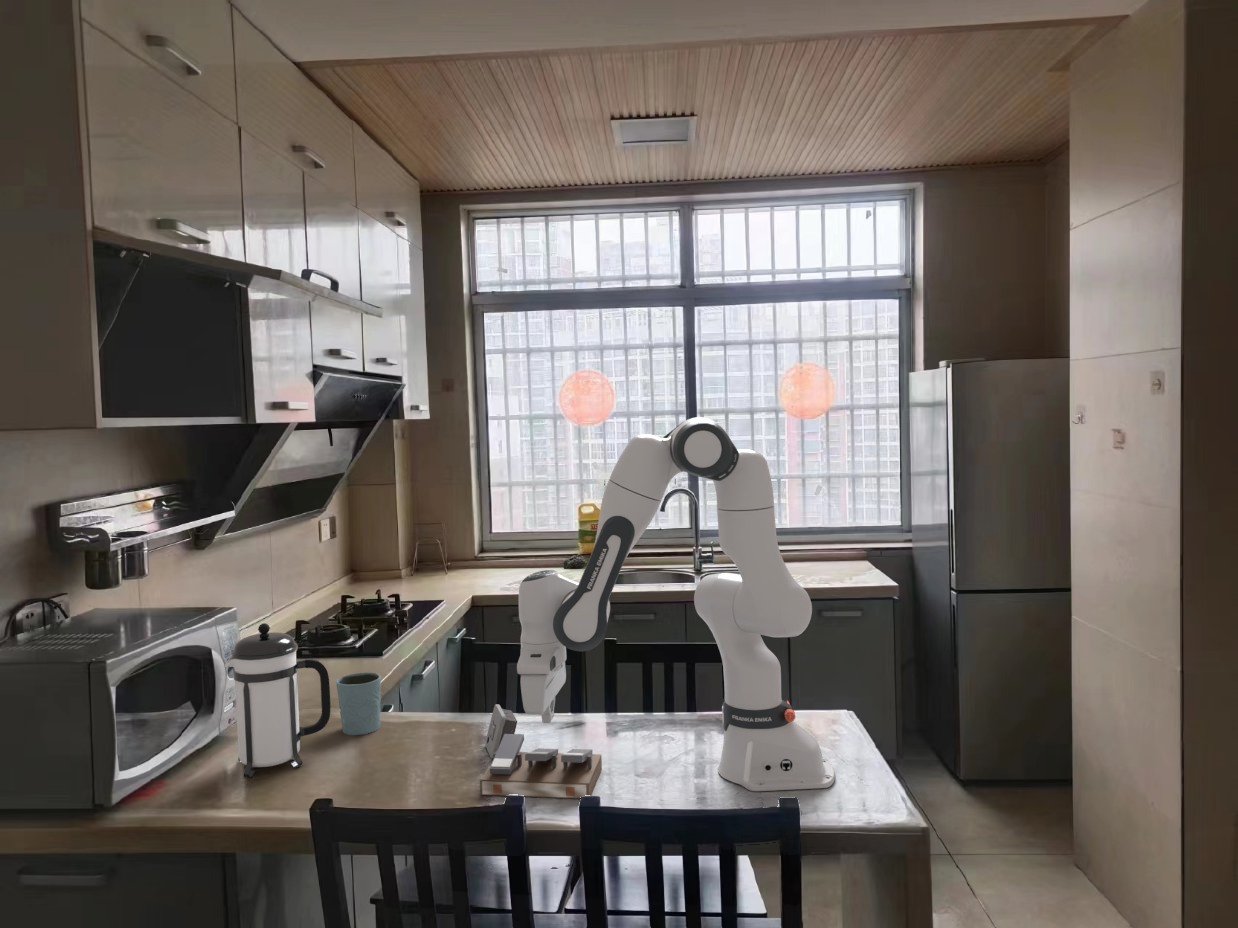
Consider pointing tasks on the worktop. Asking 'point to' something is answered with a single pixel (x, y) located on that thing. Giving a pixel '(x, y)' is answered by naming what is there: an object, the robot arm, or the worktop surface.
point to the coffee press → (271, 699)
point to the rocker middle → (540, 754)
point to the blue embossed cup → (359, 702)
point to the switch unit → (544, 778)
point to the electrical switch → (499, 728)
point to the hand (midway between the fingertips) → (548, 720)
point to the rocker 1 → (507, 754)
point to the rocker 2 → (576, 755)
